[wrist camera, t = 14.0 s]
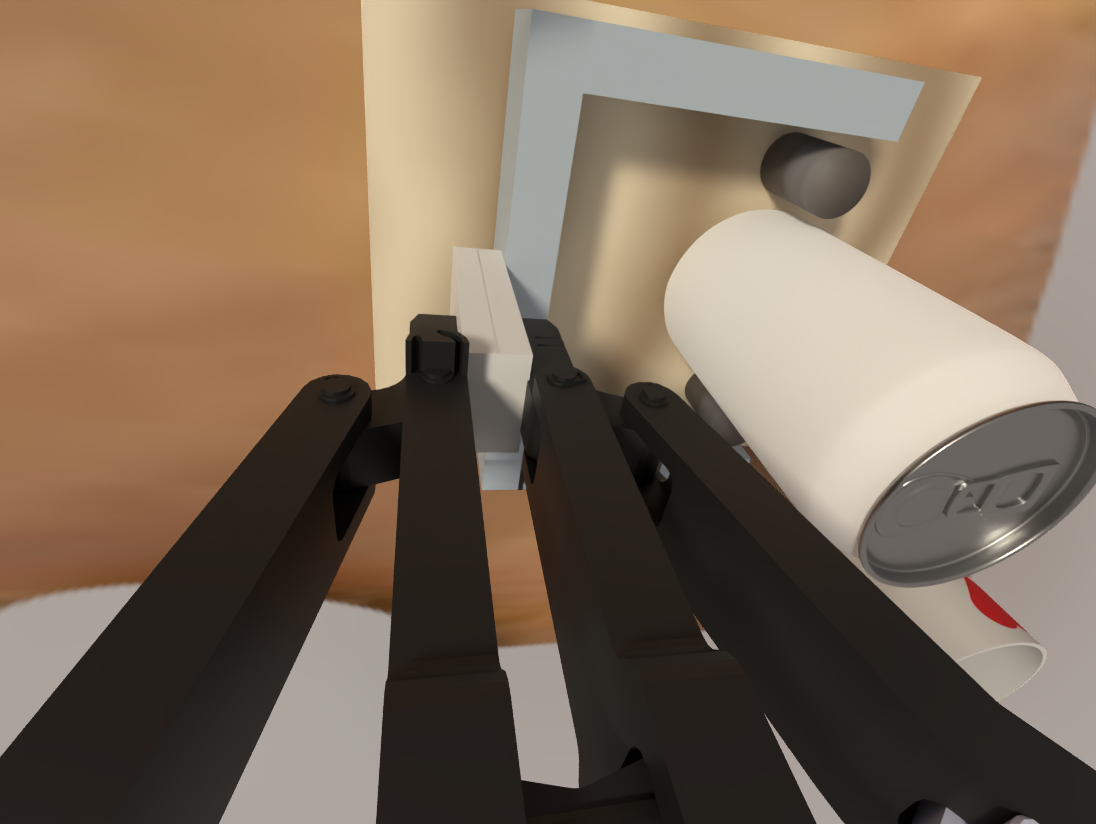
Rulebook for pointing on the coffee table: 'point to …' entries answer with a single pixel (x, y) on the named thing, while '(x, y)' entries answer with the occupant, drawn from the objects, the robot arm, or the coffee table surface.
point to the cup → (970, 631)
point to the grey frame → (657, 78)
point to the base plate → (608, 180)
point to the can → (879, 400)
